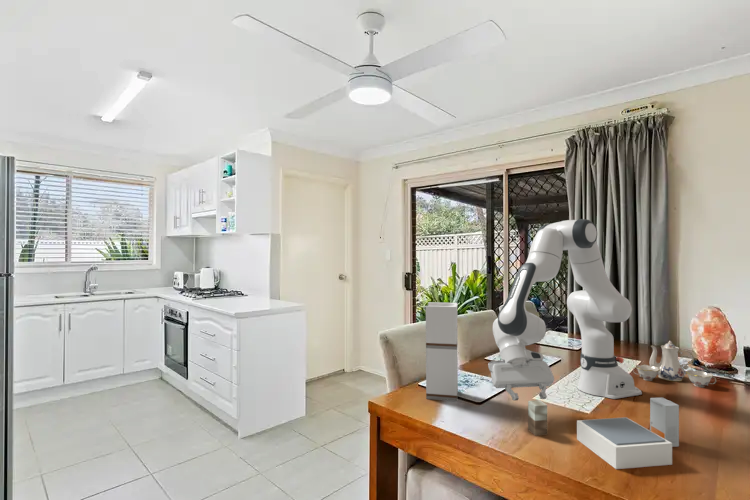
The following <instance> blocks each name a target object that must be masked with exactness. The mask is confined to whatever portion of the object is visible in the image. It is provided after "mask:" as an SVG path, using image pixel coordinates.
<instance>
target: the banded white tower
mask: <svg viewBox="0 0 750 500" xmlns="http://www.w3.org/2000/svg"><path fill="white" fill-rule="evenodd" d="M427 303H428V304H427V305H426V306H425V380H426V381H425V384H426V385H425V386H426V387H425V390H426V391H425V396H426V397H425V398H426V400H437V401H448V402H449V401H450V402H458V396H459V395H458V393H459V391H458V390H459V387H458V386H459V385H458V383H459V382H458V381H459V379H458V378H459V377H458V376H459V375H458V373H459V372H458V371H459V370H458V368H459V367H458V364H459V363H458V358H459V357H458V353H459V352H458V351H459V350H458V348H459V347H458V335H459V334H458V302H439V301H437V302H435V301H434V302H433V301H432V302H431V301H429V302H427ZM457 395H458V396H457Z"/></svg>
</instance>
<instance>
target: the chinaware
mask: <svg viewBox="0 0 750 500" xmlns="http://www.w3.org/2000/svg"><path fill="white" fill-rule="evenodd" d="M650 347H651V348H652V353H651V356H650V358H649V364H641V365H639V364H636V365H635V366H634V367H632V373H633V374H634V375H637V373H636V372H635V370H634V369H637V372H638V375H639V377H640V378H643V380H644V381H647V382H650V381H651V382H652V381H653V379H655V378H656V377H658V378H659V379H661V380H664V381H670V382H682V381H683V378H685V376H686V374H687V377H688V379H689V381H690V382H691V383H693V385H694V386H695V387H697V388H705V386H709V385H714V384H716V383H717V378H716V377H715V376H714V375H713V373H707V372H705V371H703V370H691V369H689V365H691V364H692V363H693V362H694V359H695V358H694V355H693V353H692V352H691V351H689V350H687V349H680V347H678V346H676V345H675V344H674V343H673V341H671V340H669V341H667V343H665V344H664V345H660V347H661V352H662V353H661V359H660V362H657V357H658V356H657V355H658V351H657V347H656V346H655V345H650ZM683 352H685V353H688V354H689V355H690V356H691V360H690V361H689V362H688V363H683V364H681V363H680V360H679V354H680V355H682V354H683ZM686 370H687V371H686ZM713 378H714V379H715V380H714V381H713V383H711V380H712V379H713Z"/></svg>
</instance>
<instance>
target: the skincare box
mask: <svg viewBox="0 0 750 500" xmlns="http://www.w3.org/2000/svg"><path fill="white" fill-rule="evenodd" d="M649 400H650V401H649V405H650V407H649V408H650V410H649V411H650V412H649V415H650V416H649V430H650V431H651V432H653V433H655V434H657V435H659V436H660V437H662V438H664V439H666V440H667V441H669V442H671V443H672V448H674V447H675V448H676V447H677V448H678V447H680V405H679V404H678V403H675V402H673V401H671V400H668V399H666V398H664V397H650V398H649Z"/></svg>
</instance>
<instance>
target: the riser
mask: <svg viewBox="0 0 750 500" xmlns="http://www.w3.org/2000/svg"><path fill="white" fill-rule="evenodd" d="M576 440H577V441H579V442H580V443H581V444H582V445H584V446H585V447H586V448H588V449H589V450H590V451H591V452H593V453H594V454H595V455H597V456H598V457H599V458H600V459H602V460H603V461H604V462H606V463H607V464H609V465H610V466H611V467H613V468H614V469H615V470H621V469H635V468H644V467H645V468H646V467H647V468H648V467H659V466H668V465H669V466H671V465H672V466H673V447H672V443H671V442H669V441H667V440H666V439H664V438H662V437H660V436H659V435H657V434H655V433H653V432H651V431H650V429H648V428H646V427H644V426H643V425H641V424H639V423H638V422H636V421H633V420H632V419H630V418H628V417H627V416H626V417H624V416H623V417H612V418H611V417H609V418H595V419H583V420H581V419H579V420H578V419H577V420H576Z"/></svg>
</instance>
